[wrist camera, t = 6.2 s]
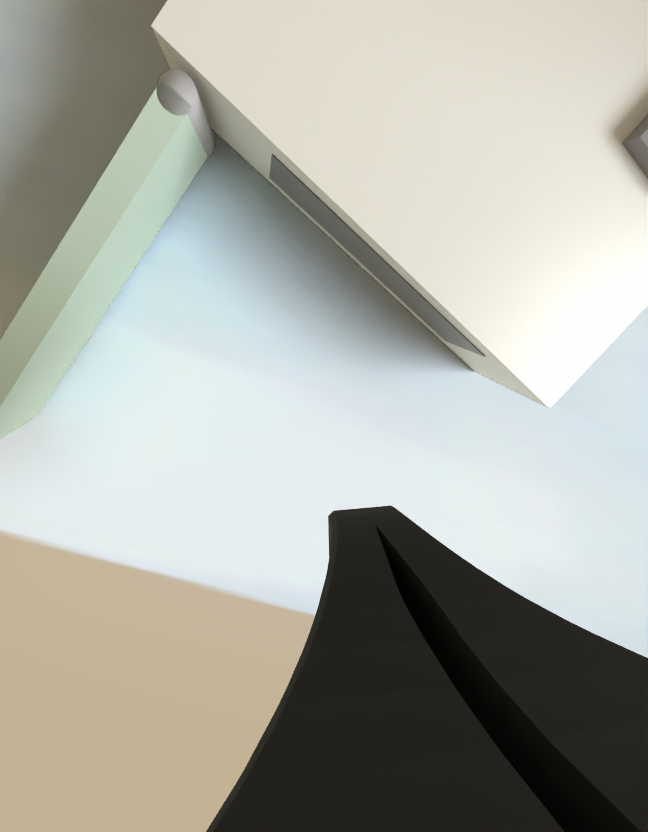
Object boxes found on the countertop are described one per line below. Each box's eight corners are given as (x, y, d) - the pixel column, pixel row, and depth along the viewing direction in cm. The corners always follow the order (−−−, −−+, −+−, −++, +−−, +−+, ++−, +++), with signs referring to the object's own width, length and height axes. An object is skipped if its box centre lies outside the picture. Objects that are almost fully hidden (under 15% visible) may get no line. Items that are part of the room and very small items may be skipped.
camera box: (353, -259, 12) (424, -658, 7) (659, 168, 17) (840, 123, 12) (141, 65, 14) (69, -60, 9) (475, 373, 18) (561, 414, 13)
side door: (220, 140, 14) (205, 90, 10) (39, 415, 16) (-35, 465, 12) (181, 106, 14) (148, 39, 10) (0, 392, 16) (-91, 436, 12)
